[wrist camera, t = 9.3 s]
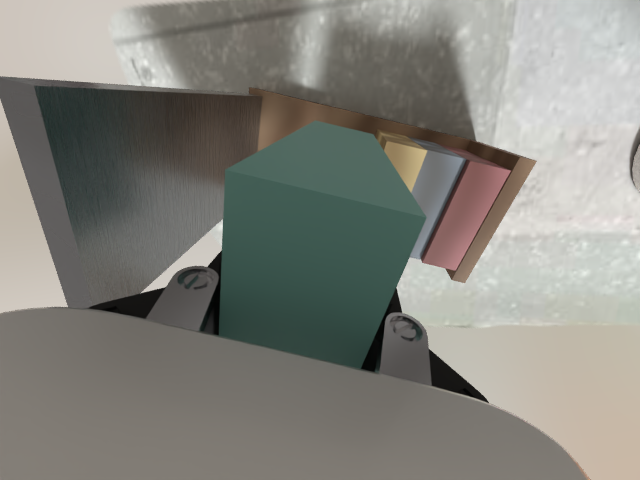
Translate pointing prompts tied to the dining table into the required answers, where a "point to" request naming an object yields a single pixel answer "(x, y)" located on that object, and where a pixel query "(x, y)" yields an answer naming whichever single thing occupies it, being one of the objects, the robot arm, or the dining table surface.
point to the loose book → (314, 243)
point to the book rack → (424, 176)
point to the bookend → (125, 174)
